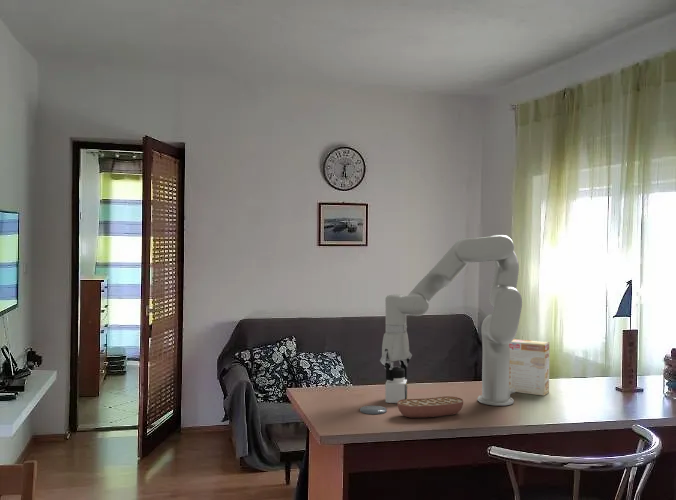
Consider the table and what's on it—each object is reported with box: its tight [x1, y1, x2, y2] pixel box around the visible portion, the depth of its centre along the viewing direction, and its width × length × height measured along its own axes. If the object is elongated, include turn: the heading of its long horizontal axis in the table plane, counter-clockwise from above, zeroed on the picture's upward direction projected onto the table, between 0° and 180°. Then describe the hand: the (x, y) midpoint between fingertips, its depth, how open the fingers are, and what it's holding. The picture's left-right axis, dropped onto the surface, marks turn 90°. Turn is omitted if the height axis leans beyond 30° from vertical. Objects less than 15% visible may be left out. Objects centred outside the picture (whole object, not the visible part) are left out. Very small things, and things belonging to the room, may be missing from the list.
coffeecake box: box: [509, 338, 550, 397], centre depth 250 cm, size 15×7×20 cm, turn 58°
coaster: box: [359, 405, 387, 415], centre depth 222 cm, size 9×9×1 cm
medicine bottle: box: [384, 366, 408, 404], centre depth 235 cm, size 7×7×12 cm
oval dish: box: [396, 395, 464, 419], centre depth 217 cm, size 23×10×5 cm, turn 106°
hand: (396, 378), depth 235 cm, fingers closed on medicine bottle, 6 cm apart
